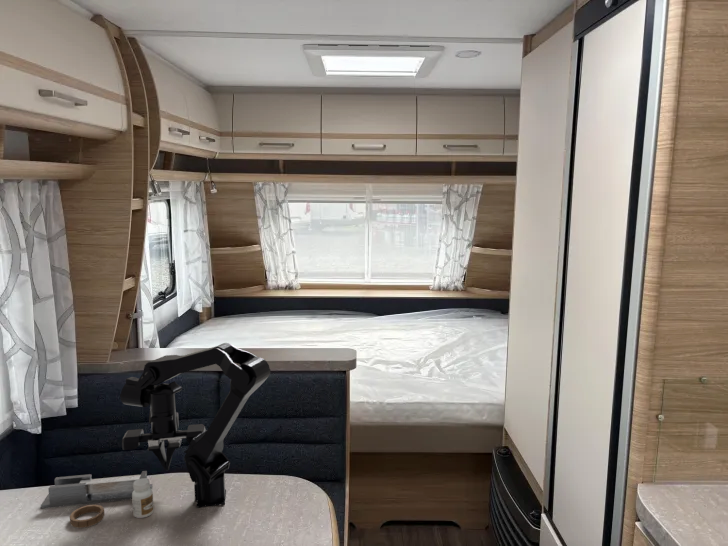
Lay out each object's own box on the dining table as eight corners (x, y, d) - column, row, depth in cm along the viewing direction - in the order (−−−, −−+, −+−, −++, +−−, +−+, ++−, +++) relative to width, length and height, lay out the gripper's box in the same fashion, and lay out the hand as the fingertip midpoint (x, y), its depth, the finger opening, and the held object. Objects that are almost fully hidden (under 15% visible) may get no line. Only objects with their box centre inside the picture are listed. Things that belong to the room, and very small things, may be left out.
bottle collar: (107, 509, 134) (106, 503, 134) (99, 525, 127) (99, 519, 127) (75, 512, 133) (75, 506, 132) (66, 529, 126) (66, 522, 126)
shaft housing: (152, 486, 144) (151, 468, 143) (148, 497, 139) (147, 479, 138) (48, 496, 140) (47, 478, 139) (40, 508, 134) (39, 489, 134)
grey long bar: (147, 484, 143) (146, 470, 142) (144, 491, 139) (143, 477, 139) (82, 490, 140) (81, 476, 139) (78, 498, 136) (77, 484, 136)
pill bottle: (146, 519, 129) (144, 487, 128) (129, 517, 130) (127, 485, 129) (157, 509, 134) (155, 477, 133) (140, 507, 135) (138, 476, 134)
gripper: (205, 394, 149) (208, 451, 151) (129, 400, 145) (133, 458, 147) (201, 410, 138) (205, 471, 140) (119, 416, 134) (123, 479, 137)
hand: (166, 469), depth 141 cm, fingers closed
